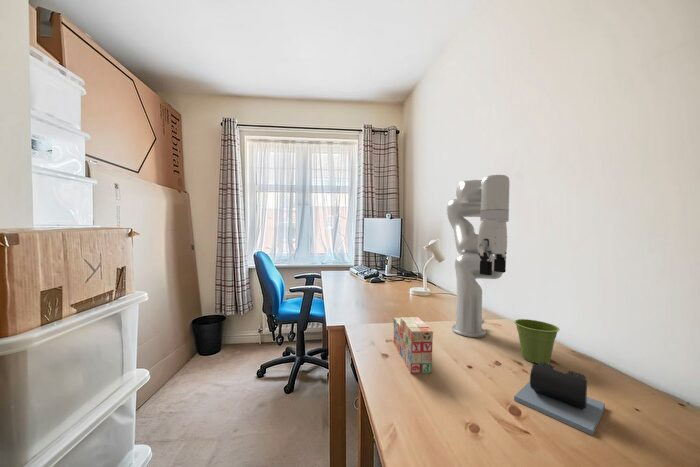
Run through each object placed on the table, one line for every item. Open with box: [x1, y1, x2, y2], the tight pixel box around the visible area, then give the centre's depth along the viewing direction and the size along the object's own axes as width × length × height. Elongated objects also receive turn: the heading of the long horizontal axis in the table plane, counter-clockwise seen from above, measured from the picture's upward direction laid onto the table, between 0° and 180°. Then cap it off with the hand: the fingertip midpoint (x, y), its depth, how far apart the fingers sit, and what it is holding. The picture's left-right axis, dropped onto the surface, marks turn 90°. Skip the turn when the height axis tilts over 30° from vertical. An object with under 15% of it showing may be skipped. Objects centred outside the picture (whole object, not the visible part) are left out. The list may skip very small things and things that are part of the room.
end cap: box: [529, 362, 588, 410], centre depth 62 cm, size 10×7×7 cm
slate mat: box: [513, 380, 606, 437], centre depth 62 cm, size 14×14×1 cm
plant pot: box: [513, 318, 560, 365], centre depth 84 cm, size 12×12×11 cm
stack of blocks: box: [393, 316, 434, 375], centre depth 85 cm, size 21×6×12 cm, turn 4°
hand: (492, 273), depth 80 cm, fingers open, 9 cm apart
